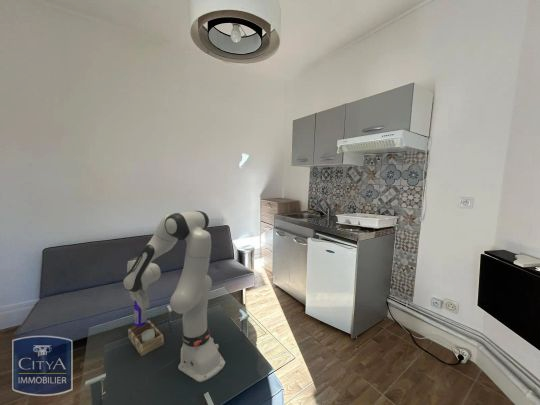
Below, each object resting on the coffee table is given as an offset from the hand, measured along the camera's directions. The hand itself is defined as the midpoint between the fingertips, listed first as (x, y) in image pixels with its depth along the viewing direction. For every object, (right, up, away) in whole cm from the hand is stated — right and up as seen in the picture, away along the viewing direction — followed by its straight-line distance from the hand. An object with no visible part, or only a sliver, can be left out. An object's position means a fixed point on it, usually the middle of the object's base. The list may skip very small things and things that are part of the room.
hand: (140, 310), depth 126 cm
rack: (+4, -17, -2) cm, 17 cm away
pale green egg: (+7, -16, -5) cm, 18 cm away
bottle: (0, -8, 0) cm, 8 cm away
